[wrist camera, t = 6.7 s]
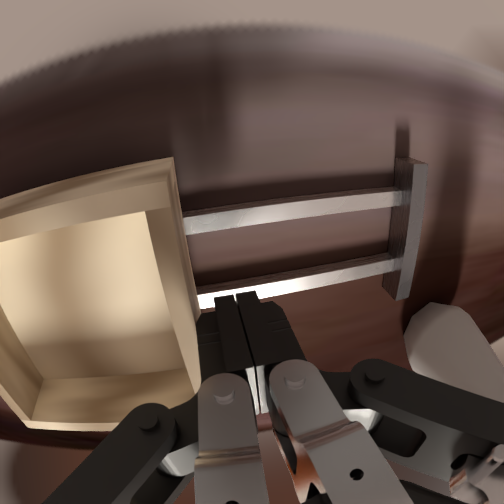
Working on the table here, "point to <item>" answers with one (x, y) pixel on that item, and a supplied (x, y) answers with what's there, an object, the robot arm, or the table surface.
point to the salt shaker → (453, 351)
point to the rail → (399, 197)
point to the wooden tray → (96, 299)
